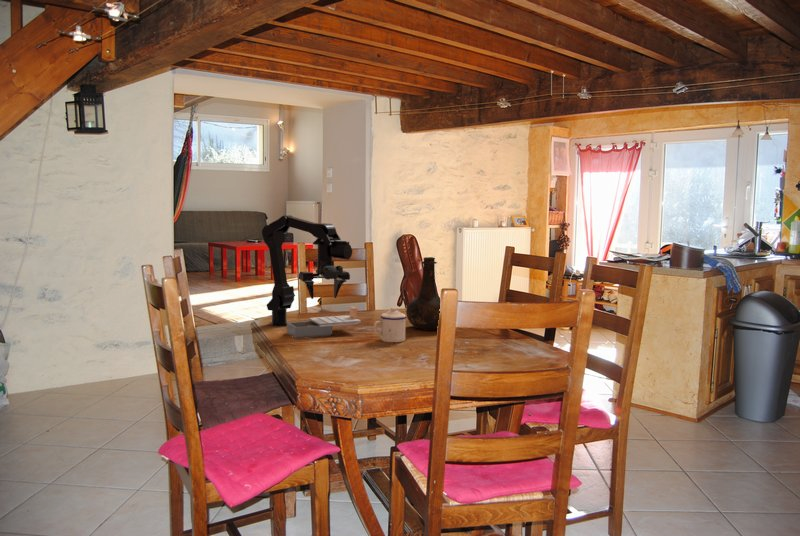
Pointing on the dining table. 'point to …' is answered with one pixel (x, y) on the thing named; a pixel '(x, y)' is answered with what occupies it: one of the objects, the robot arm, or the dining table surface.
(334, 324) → the lid
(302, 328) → the tub
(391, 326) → the teacup with lid
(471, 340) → the dining table surface
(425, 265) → the glass bottle
